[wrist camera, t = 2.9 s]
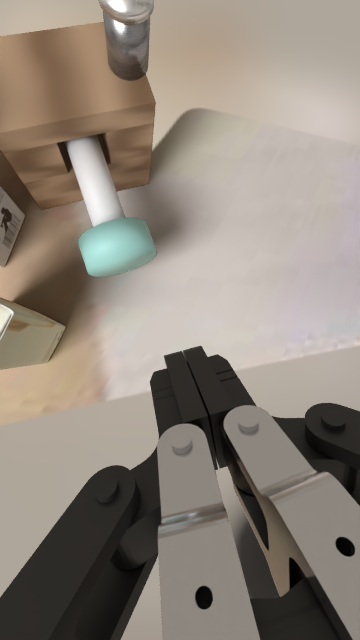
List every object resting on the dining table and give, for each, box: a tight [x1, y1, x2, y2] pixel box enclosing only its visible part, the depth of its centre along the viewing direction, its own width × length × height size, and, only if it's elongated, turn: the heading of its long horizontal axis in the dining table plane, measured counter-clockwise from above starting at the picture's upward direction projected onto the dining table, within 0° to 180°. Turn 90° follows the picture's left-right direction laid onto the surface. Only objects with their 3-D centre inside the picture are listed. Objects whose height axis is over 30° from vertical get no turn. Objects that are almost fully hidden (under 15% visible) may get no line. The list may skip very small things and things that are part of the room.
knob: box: [64, 134, 157, 277], centre depth 25 cm, size 6×14×6 cm, turn 19°
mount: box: [0, 22, 156, 210], centre depth 26 cm, size 12×7×11 cm, turn 109°
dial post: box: [99, 0, 154, 81], centre depth 19 cm, size 3×3×5 cm
